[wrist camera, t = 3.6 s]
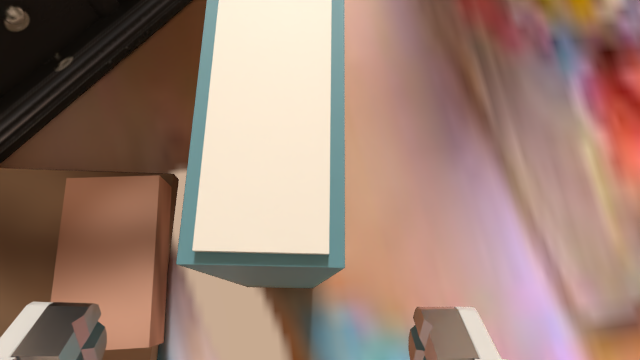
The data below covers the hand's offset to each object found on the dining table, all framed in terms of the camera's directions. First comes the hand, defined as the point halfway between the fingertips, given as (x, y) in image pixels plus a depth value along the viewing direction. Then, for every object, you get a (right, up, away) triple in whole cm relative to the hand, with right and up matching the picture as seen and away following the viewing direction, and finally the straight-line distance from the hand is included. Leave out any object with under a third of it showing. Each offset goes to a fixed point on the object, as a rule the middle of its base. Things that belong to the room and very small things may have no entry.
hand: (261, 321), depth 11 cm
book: (-1, +2, +16) cm, 16 cm away
